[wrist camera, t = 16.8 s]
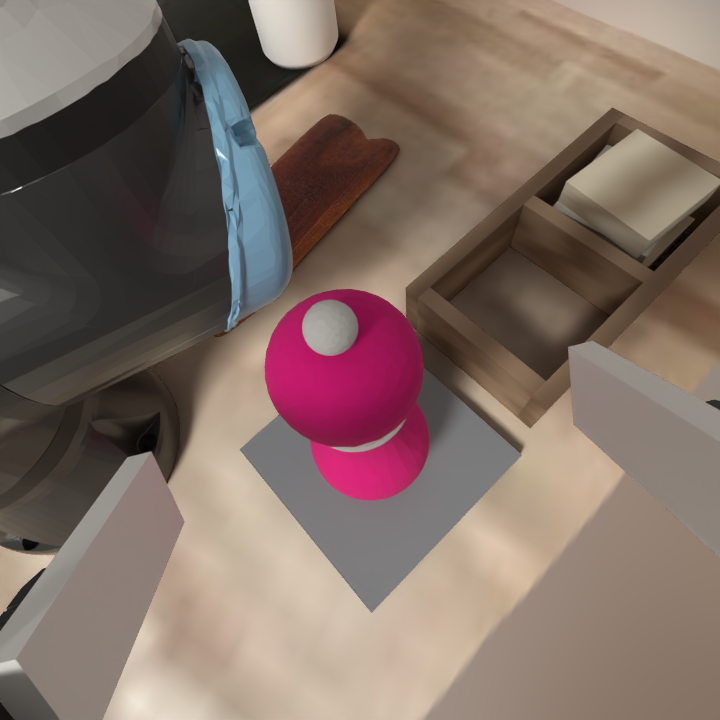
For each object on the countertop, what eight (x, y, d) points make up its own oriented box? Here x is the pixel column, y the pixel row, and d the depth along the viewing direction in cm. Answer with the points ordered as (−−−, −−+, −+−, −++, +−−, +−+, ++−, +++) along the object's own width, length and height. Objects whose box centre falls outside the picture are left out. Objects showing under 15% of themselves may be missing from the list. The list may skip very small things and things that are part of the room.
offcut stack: (530, 235, 39) (550, 182, 33) (595, 176, 41) (623, 117, 35) (621, 296, 36) (659, 249, 30) (686, 230, 37) (734, 174, 32)
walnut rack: (406, 321, 37) (405, 287, 32) (590, 157, 42) (612, 107, 37) (530, 428, 32) (549, 407, 28) (720, 231, 37) (763, 185, 33)
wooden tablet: (329, 118, 48) (327, 103, 47) (407, 154, 45) (407, 139, 43) (146, 297, 41) (135, 287, 40) (221, 355, 38) (213, 346, 37)
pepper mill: (419, 399, 33) (428, 203, 15) (434, 501, 30) (469, 416, 12) (321, 410, 34) (213, 234, 15) (327, 513, 31) (201, 447, 12)
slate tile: (244, 452, 34) (239, 449, 33) (380, 332, 37) (379, 326, 36) (372, 611, 29) (371, 612, 28) (518, 457, 32) (521, 455, 31)
